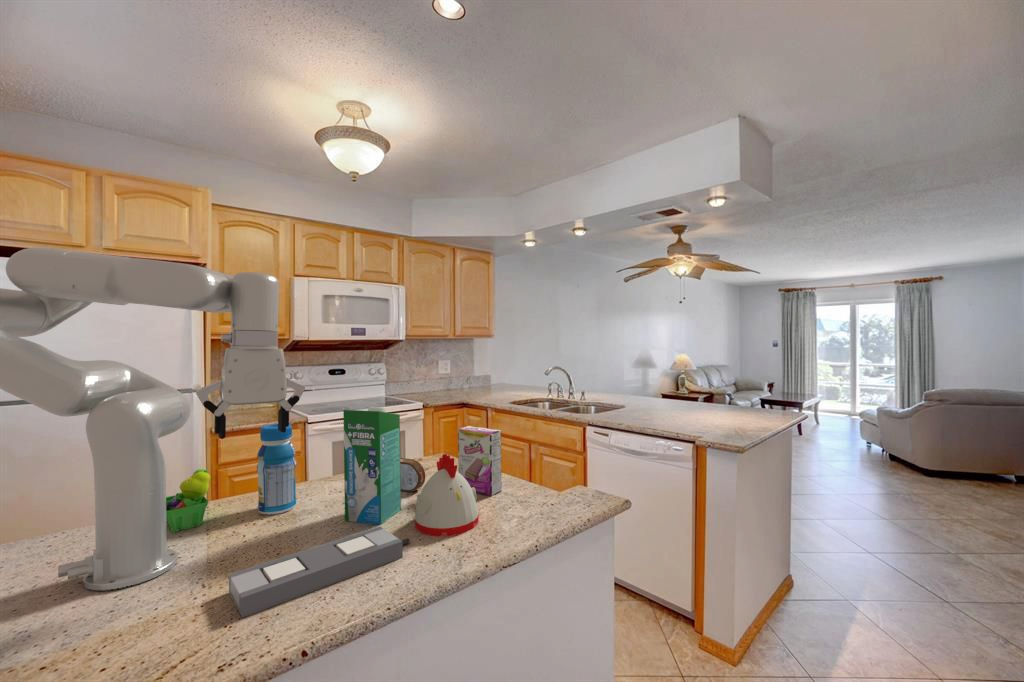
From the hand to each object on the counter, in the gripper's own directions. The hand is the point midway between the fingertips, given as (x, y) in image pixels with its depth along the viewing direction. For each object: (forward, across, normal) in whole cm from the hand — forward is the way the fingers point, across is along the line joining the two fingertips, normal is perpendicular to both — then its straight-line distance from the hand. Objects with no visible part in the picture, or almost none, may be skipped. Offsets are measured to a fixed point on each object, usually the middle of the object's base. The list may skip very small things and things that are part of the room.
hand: (252, 434), depth 81 cm
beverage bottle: (+24, +10, +25) cm, 36 cm away
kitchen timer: (+22, +36, -9) cm, 44 cm away
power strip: (+23, +11, -13) cm, 28 cm away
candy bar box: (+22, +54, +3) cm, 58 cm away
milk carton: (+23, +26, +6) cm, 35 cm away
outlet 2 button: (+22, +15, -13) cm, 29 cm away
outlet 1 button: (+22, +3, -13) cm, 26 cm away
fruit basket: (+24, -8, +30) cm, 39 cm away
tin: (+23, +38, +18) cm, 48 cm away
